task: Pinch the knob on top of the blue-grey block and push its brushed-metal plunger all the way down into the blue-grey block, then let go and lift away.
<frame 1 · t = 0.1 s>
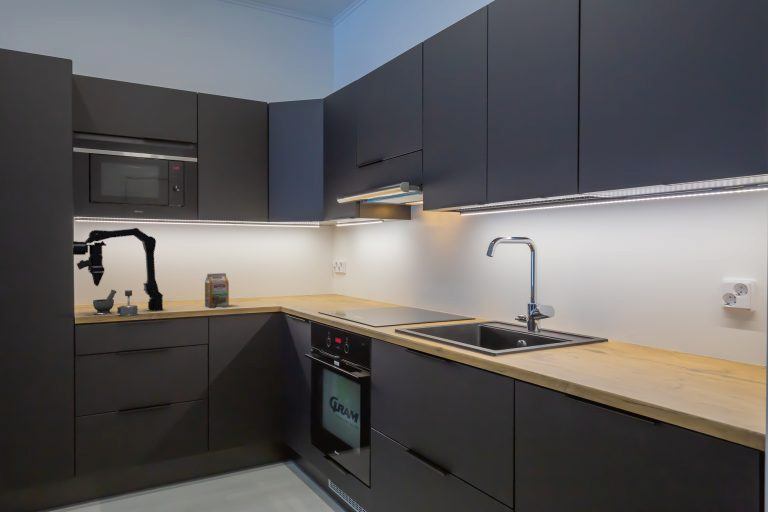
hand: (96, 285, 264), 15 cm above the worktop, fingers open, 9 cm apart
plunger: (128, 299, 261), point 8 cm above the worktop, slide at 0.0 cm
printed carton: (216, 307, 296), on the worktop
blue-grey block: (128, 314, 261), on the worktop
mortar and pestle: (105, 313, 267), on the worktop
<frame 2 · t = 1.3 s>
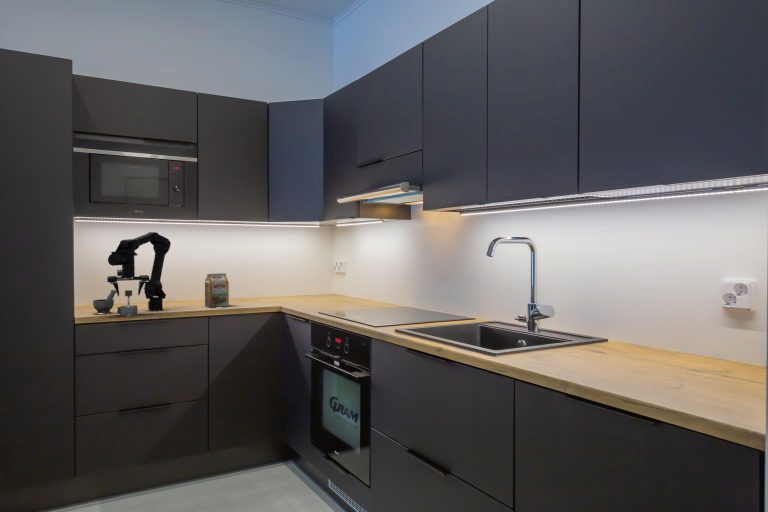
hand: (128, 295, 261), 10 cm above the worktop, fingers open, 9 cm apart
nothing on the worktop moved.
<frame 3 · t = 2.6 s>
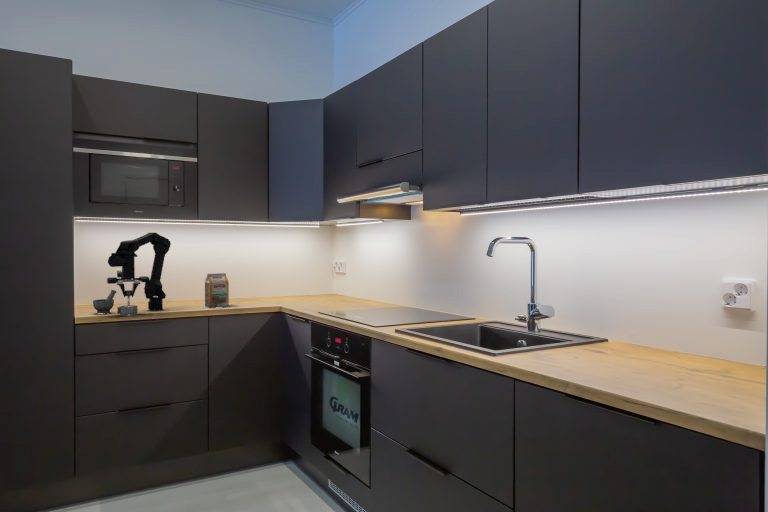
hand: (128, 297, 261), 9 cm above the worktop, fingers closed on plunger, 3 cm apart
plunger: (128, 299, 261), point 8 cm above the worktop, slide at 0.0 cm, touching gripper
everything else where it was.
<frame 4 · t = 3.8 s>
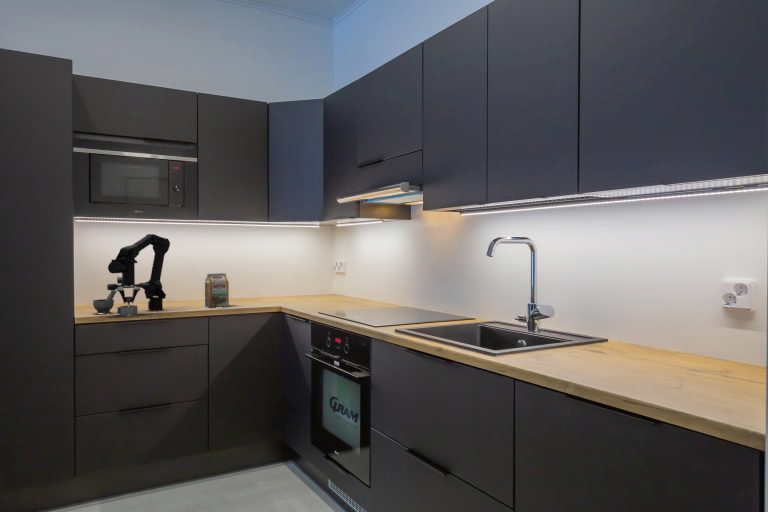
hand: (128, 303, 261), 6 cm above the worktop, fingers closed on plunger, 3 cm apart
plunger: (128, 305, 261), point 5 cm above the worktop, slide at 3.2 cm, touching gripper
everything else where it was.
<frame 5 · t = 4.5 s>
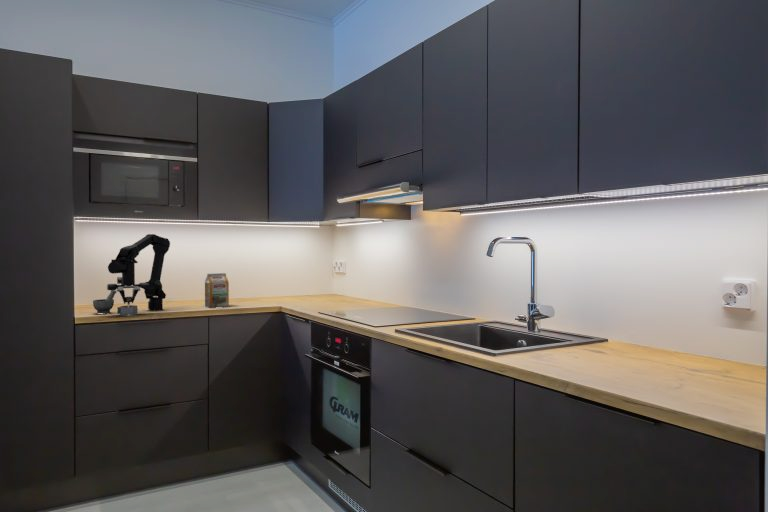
hand: (128, 303, 261), 6 cm above the worktop, fingers closed on plunger, 3 cm apart
plunger: (128, 305, 261), point 5 cm above the worktop, slide at 3.2 cm, touching gripper
everything else where it was.
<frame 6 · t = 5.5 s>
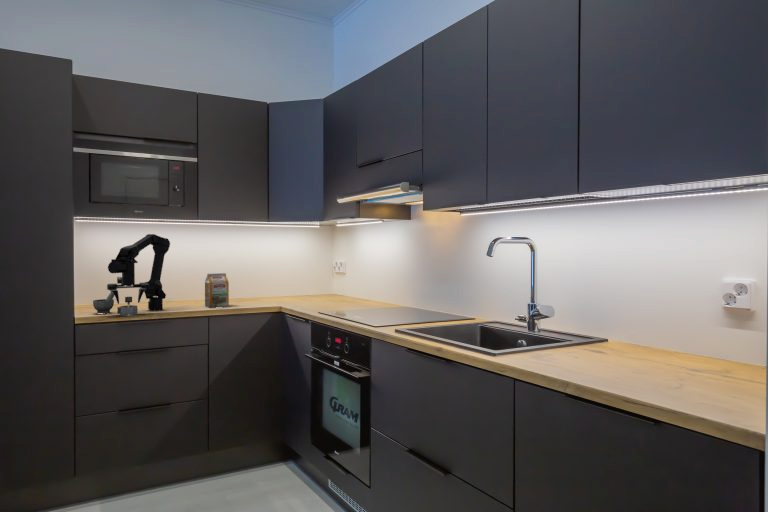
hand: (128, 303, 261), 6 cm above the worktop, fingers open, 9 cm apart
plunger: (128, 305, 261), point 5 cm above the worktop, slide at 3.2 cm
everything else where it was.
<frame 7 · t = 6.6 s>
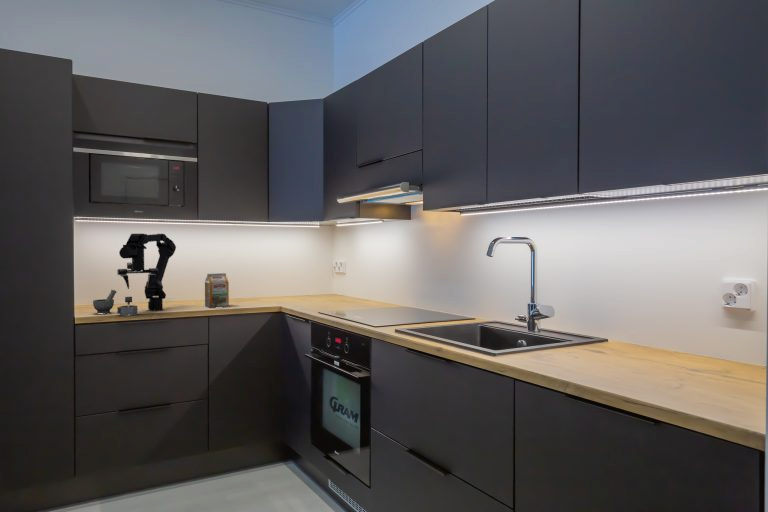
hand: (138, 288, 266), 13 cm above the worktop, fingers open, 9 cm apart
nothing on the worktop moved.
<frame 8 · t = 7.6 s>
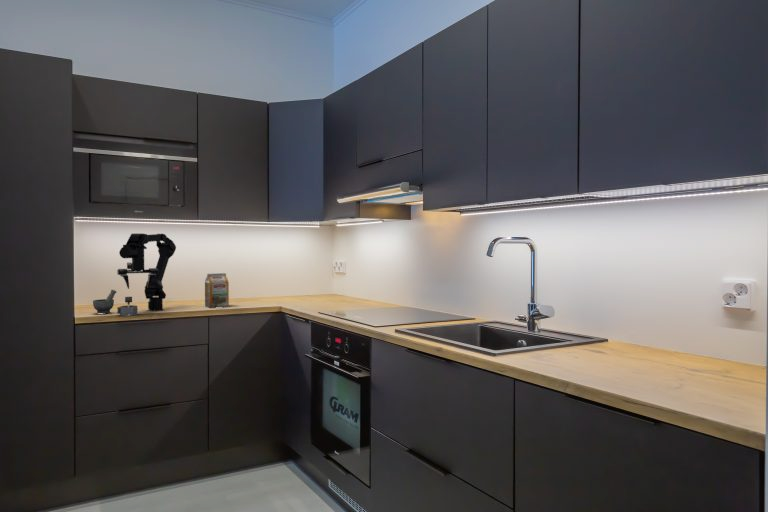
hand: (138, 288, 266), 13 cm above the worktop, fingers open, 9 cm apart
nothing on the worktop moved.
at the end: plunger slide at 3.2 cm; the gripper is holding nothing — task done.
